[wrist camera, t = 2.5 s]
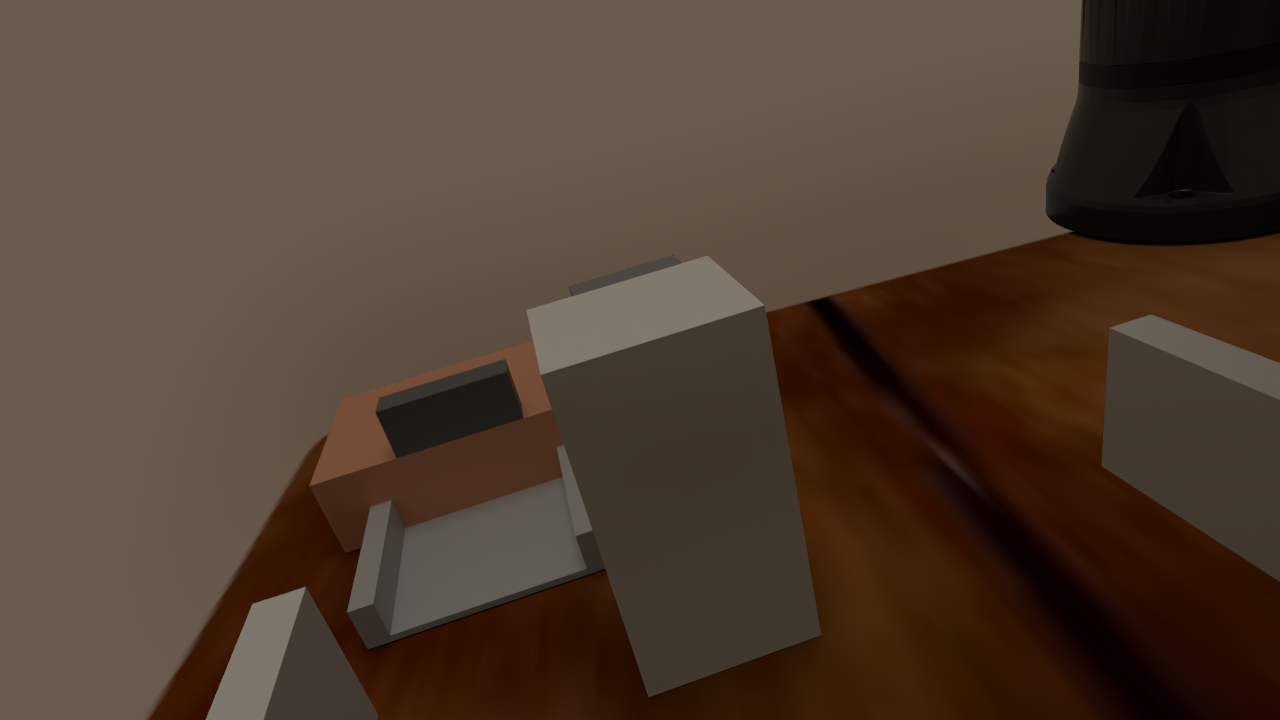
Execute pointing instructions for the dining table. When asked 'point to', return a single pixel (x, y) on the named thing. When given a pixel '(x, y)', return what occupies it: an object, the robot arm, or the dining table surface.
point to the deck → (456, 491)
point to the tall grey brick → (682, 466)
